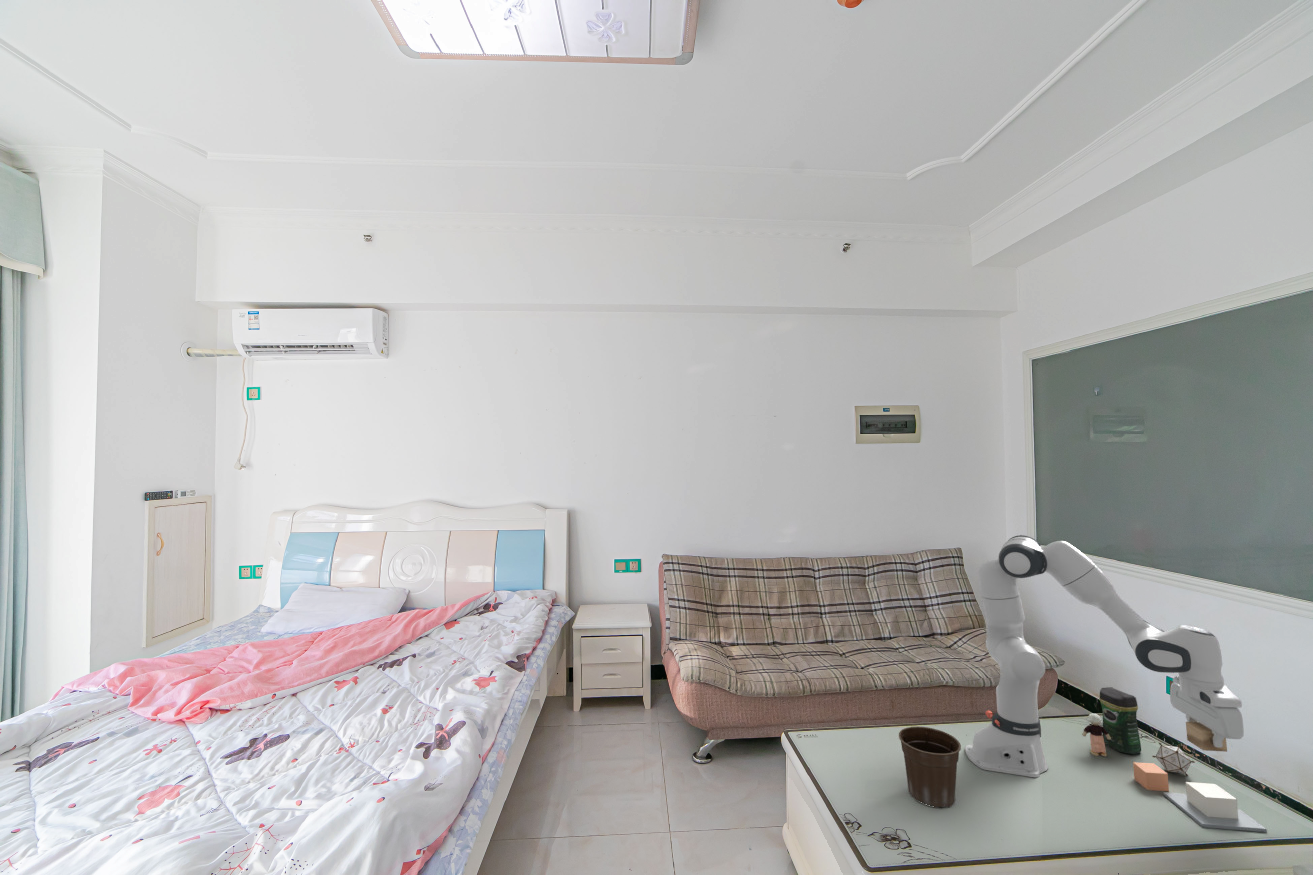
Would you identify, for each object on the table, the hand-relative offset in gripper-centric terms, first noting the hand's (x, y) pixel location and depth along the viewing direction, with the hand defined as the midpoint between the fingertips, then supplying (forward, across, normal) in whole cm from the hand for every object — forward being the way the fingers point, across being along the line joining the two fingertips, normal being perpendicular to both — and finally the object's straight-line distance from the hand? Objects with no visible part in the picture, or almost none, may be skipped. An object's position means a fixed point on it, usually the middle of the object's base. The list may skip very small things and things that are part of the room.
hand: (1206, 739), depth 148 cm
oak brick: (+2, 0, 0) cm, 2 cm away
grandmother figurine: (+19, -29, -12) cm, 37 cm away
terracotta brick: (+19, -12, -7) cm, 24 cm away
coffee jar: (+19, -34, -2) cm, 39 cm away
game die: (+19, -20, +4) cm, 28 cm away
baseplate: (+19, 0, 0) cm, 19 cm away
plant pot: (+19, +2, -71) cm, 74 cm away
